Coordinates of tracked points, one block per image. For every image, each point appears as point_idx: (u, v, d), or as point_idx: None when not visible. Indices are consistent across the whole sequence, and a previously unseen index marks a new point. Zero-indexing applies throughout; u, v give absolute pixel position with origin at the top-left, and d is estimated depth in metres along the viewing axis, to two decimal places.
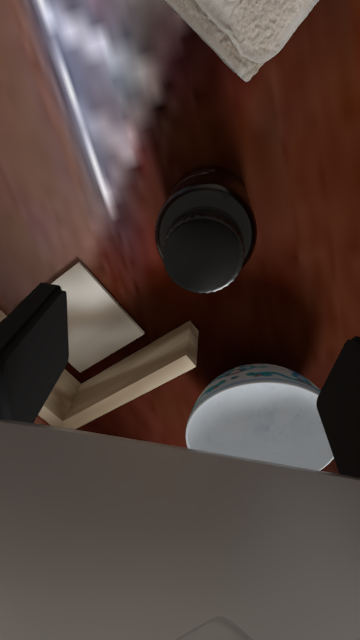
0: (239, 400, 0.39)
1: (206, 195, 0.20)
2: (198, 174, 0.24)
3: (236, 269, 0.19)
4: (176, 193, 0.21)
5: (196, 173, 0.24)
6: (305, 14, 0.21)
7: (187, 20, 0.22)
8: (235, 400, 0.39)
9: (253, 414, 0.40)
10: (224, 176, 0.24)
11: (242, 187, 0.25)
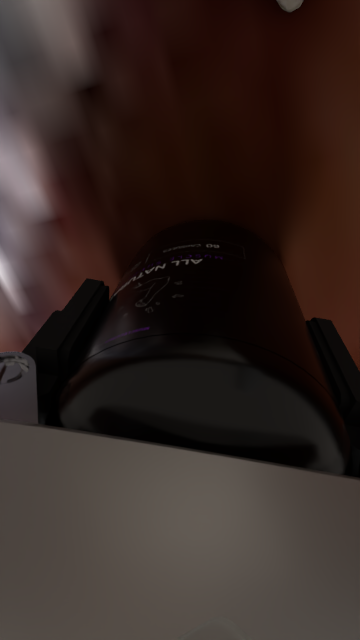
0: None
1: (191, 408, 0.05)
2: (176, 266, 0.09)
3: None
4: (90, 373, 0.06)
5: (172, 257, 0.09)
6: None
7: None
8: None
9: None
10: (246, 273, 0.09)
11: (288, 287, 0.10)
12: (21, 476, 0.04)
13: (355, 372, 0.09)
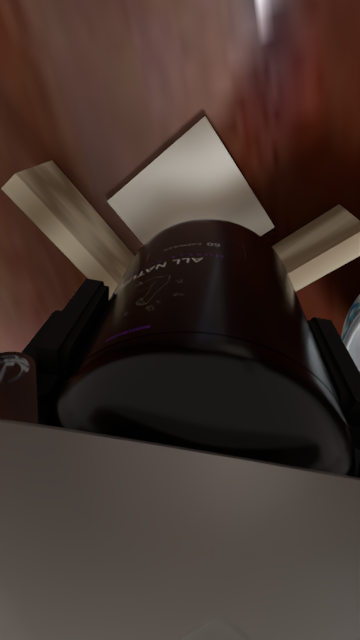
0: None
1: (192, 407, 0.05)
2: (176, 265, 0.09)
3: None
4: (91, 371, 0.06)
5: (172, 256, 0.09)
6: None
7: None
8: None
9: None
10: (247, 271, 0.09)
11: (289, 286, 0.10)
12: (21, 476, 0.04)
13: (355, 372, 0.09)
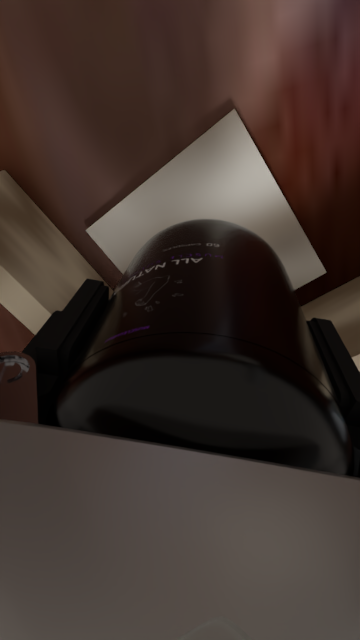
0: None
1: (191, 408, 0.05)
2: (175, 265, 0.09)
3: None
4: (90, 372, 0.06)
5: (172, 256, 0.09)
6: None
7: None
8: None
9: None
10: (246, 272, 0.09)
11: (288, 286, 0.10)
12: (21, 476, 0.04)
13: (355, 372, 0.09)
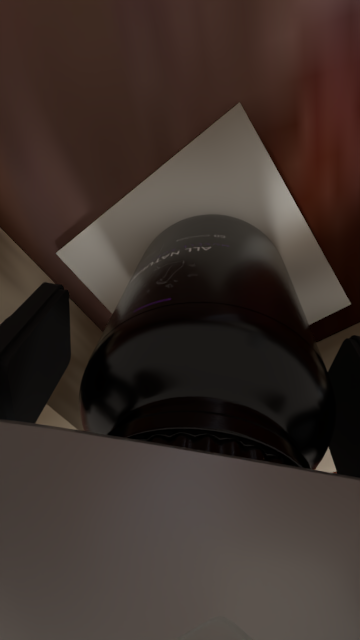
0: None
1: (206, 357, 0.07)
2: (188, 252, 0.10)
3: None
4: (124, 333, 0.08)
5: (185, 245, 0.11)
6: None
7: None
8: None
9: None
10: (249, 258, 0.10)
11: (285, 273, 0.12)
12: (21, 476, 0.04)
13: None
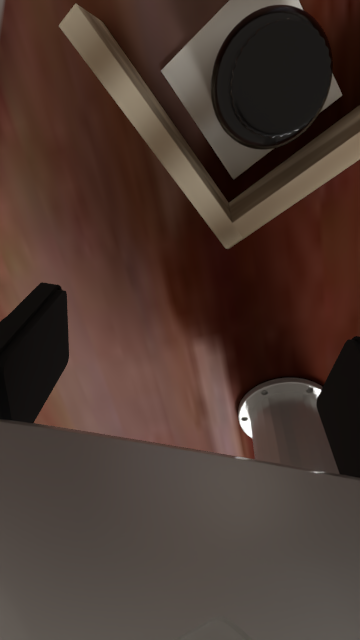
0: None
1: (279, 15, 0.17)
2: None
3: (319, 98, 0.16)
4: (240, 22, 0.18)
5: None
6: None
7: None
8: None
9: None
10: None
11: None
12: (21, 476, 0.04)
13: None
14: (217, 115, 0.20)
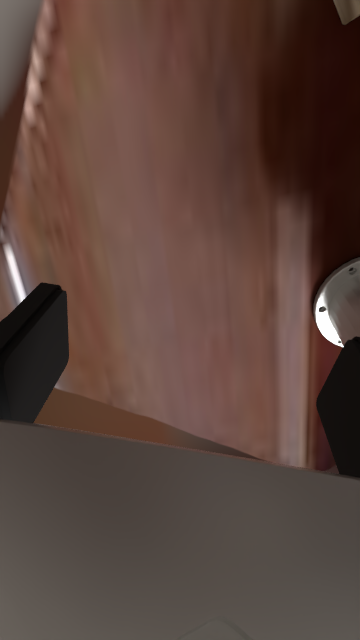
0: None
1: None
2: None
3: None
4: None
5: None
6: None
7: None
8: None
9: None
10: None
11: None
12: (21, 476, 0.04)
13: None
14: None
